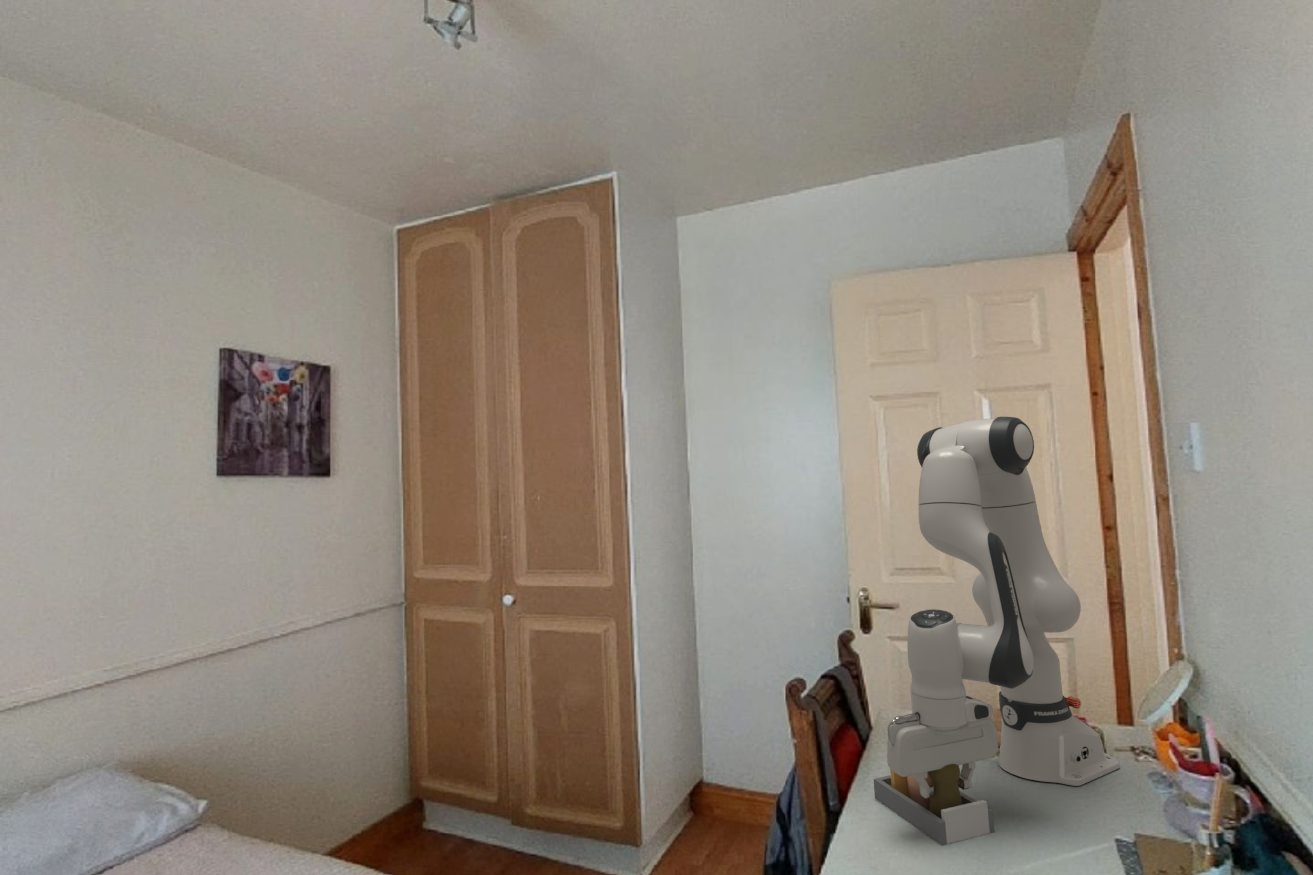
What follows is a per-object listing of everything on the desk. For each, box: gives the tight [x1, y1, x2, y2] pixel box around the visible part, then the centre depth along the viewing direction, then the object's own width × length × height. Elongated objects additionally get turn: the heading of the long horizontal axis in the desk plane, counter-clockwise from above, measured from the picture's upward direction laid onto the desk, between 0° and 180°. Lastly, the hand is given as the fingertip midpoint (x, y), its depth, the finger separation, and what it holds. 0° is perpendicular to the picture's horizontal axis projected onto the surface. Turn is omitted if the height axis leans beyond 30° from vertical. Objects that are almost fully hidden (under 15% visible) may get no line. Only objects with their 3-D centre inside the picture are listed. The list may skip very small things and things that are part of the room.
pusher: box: [889, 768, 909, 798], centre depth 126 cm, size 8×1×8 cm, turn 107°
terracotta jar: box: [907, 772, 931, 811], centre depth 123 cm, size 5×5×10 cm
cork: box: [928, 764, 962, 819], centre depth 117 cm, size 6×6×11 cm
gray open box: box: [873, 774, 995, 846], centre depth 121 cm, size 10×18×6 cm, turn 17°
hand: (946, 792), depth 117 cm, fingers open, 6 cm apart
